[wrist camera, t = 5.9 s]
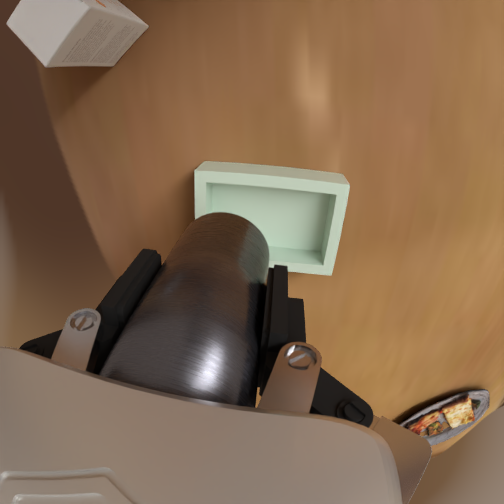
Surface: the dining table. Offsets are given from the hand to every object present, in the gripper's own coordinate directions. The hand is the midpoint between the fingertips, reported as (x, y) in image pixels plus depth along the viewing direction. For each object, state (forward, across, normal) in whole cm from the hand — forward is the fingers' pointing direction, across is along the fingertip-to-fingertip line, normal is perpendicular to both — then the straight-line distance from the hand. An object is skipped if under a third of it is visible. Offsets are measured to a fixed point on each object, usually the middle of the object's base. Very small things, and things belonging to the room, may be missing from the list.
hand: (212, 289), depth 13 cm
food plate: (+19, -44, +43) cm, 65 cm away
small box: (+18, +15, -15) cm, 28 cm away
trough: (+18, -2, +3) cm, 18 cm away
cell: (+3, 0, 0) cm, 3 cm away
